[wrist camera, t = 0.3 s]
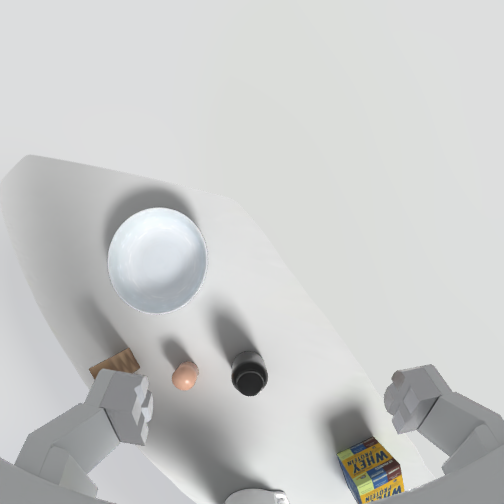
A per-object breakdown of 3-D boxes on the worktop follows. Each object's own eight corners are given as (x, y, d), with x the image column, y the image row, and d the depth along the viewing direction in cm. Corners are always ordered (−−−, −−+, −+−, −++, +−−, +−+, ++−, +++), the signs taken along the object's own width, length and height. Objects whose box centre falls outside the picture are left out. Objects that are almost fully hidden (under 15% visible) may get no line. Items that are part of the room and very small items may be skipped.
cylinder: (202, 375, 59) (199, 384, 53) (184, 384, 58) (179, 393, 52) (191, 357, 59) (186, 365, 53) (173, 366, 59) (167, 374, 53)
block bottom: (140, 367, 58) (134, 372, 54) (123, 375, 58) (117, 380, 54) (129, 347, 59) (122, 351, 55) (112, 356, 58) (105, 360, 54)
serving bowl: (230, 247, 62) (229, 243, 55) (177, 330, 60) (169, 335, 53) (153, 197, 63) (144, 187, 56) (103, 275, 60) (89, 274, 53)
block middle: (134, 372, 54) (127, 377, 50) (117, 380, 54) (109, 385, 50) (122, 351, 55) (115, 355, 51) (105, 360, 54) (97, 364, 50)
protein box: (373, 435, 58) (400, 463, 43) (382, 472, 57) (406, 500, 42) (335, 453, 58) (356, 486, 42) (348, 488, 56) (367, 521, 41)
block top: (127, 377, 50) (120, 383, 46) (109, 385, 50) (101, 391, 46) (115, 355, 51) (107, 359, 47) (97, 364, 50) (88, 369, 46)
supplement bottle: (227, 357, 59) (224, 374, 48) (257, 345, 60) (261, 359, 48) (239, 385, 59) (240, 406, 47) (269, 373, 59) (276, 392, 48)
